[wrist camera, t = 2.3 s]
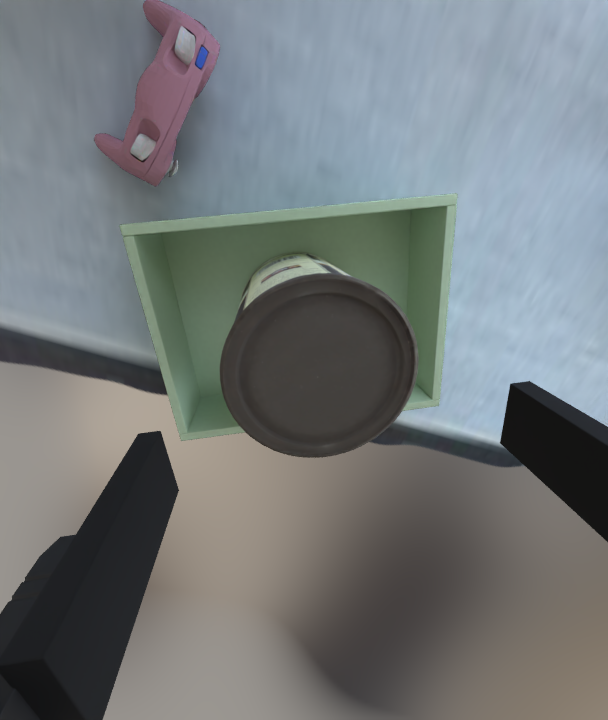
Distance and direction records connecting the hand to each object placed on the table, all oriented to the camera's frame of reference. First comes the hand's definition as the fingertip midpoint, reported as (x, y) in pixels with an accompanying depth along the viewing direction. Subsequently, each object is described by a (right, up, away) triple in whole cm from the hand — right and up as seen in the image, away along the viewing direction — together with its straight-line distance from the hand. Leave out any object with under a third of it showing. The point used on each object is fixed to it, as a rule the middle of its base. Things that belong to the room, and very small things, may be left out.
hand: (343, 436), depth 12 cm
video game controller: (-11, +21, +11) cm, 26 cm away
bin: (-2, +8, +18) cm, 19 cm away
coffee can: (-2, +7, +17) cm, 19 cm away
